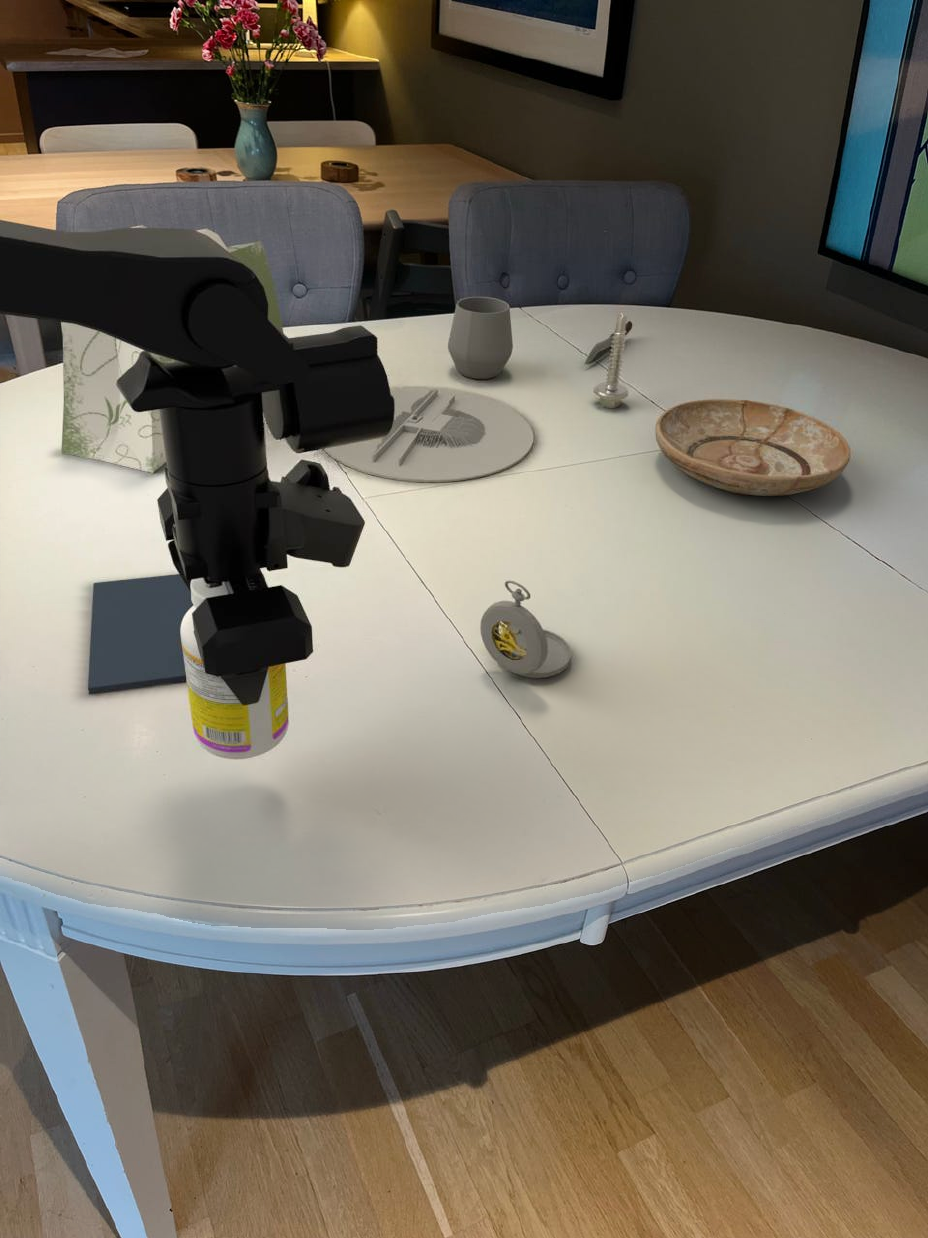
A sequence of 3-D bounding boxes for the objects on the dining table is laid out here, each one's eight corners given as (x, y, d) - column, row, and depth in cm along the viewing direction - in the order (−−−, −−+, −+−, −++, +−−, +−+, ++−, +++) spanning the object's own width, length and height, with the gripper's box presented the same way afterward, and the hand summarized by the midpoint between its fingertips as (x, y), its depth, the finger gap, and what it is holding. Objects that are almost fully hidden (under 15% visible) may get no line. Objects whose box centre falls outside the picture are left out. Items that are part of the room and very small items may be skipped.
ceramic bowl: (862, 463, 122) (873, 427, 119) (806, 538, 106) (818, 498, 103) (692, 415, 132) (699, 381, 129) (618, 477, 116) (624, 439, 113)
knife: (587, 371, 144) (590, 352, 142) (578, 369, 144) (581, 349, 142) (633, 338, 157) (636, 320, 155) (624, 336, 157) (627, 318, 156)
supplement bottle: (266, 691, 72) (257, 544, 65) (304, 743, 68) (299, 593, 60) (179, 719, 69) (159, 568, 61) (214, 776, 64) (197, 621, 57)
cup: (464, 356, 146) (467, 290, 140) (520, 369, 143) (526, 302, 137) (436, 376, 139) (438, 307, 133) (494, 389, 136) (499, 319, 130)
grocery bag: (210, 364, 138) (191, 193, 125) (294, 382, 135) (284, 207, 121) (57, 451, 114) (13, 250, 100) (155, 475, 110) (123, 269, 97)
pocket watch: (570, 640, 88) (583, 547, 82) (569, 698, 81) (583, 602, 76) (482, 631, 89) (489, 538, 83) (474, 689, 82) (480, 592, 76)
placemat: (213, 677, 81) (212, 671, 81) (88, 693, 79) (87, 688, 78) (202, 576, 94) (201, 571, 93) (94, 587, 91) (93, 582, 91)
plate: (370, 376, 138) (370, 368, 137) (557, 411, 131) (558, 402, 130) (276, 454, 116) (275, 445, 115) (494, 500, 109) (495, 491, 108)
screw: (625, 413, 132) (590, 409, 132) (627, 399, 135) (593, 395, 136) (640, 319, 124) (603, 315, 125) (641, 308, 128) (605, 304, 128)
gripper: (399, 519, 52) (396, 733, 61) (310, 390, 66) (318, 580, 75) (190, 551, 48) (219, 774, 57) (142, 407, 62) (172, 605, 71)
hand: (239, 671), depth 65 cm, fingers closed on supplement bottle, 7 cm apart
